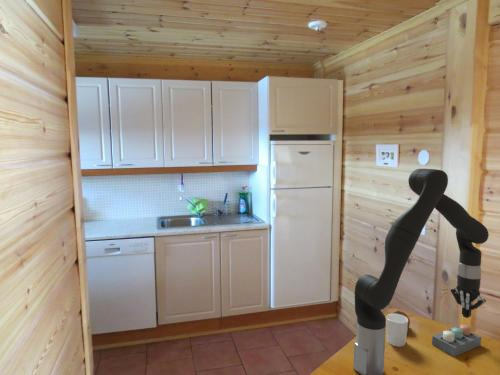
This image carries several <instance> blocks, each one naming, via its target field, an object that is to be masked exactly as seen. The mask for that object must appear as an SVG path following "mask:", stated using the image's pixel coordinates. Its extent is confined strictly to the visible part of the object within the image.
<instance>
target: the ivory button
mask: <svg viewBox="0 0 500 375" xmlns="http://www.w3.org/2000/svg"><path fill="white" fill-rule="evenodd" d="M442 332H443V341H445V342H447V343H449V344H451V343H454V336H455V334H454V333H453V332H451V331H447V330H443V331H442Z"/></svg>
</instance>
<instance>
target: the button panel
mask: <svg viewBox="0 0 500 375" xmlns="http://www.w3.org/2000/svg"><path fill="white" fill-rule="evenodd" d="M455 327H456V328H460V325H457V326H455ZM451 330H452V328H450V329H447V330H446V331H451ZM431 338H432V339H431V345H432V346H434V347H436V348H438V349H440V350H441V351H443V352H445V353H447V354H449V355H451V357H456V356H460V355H461V354H463V353H466V352H468V351H470V350H473V349H475V348H478V347H480V346H481V344H482V336H481V335H478V334H476V333H475V332H472V331H471V336H469V337H465V336H463V338H462V339H461V340H459V341H458V340H457V339H455V338H454V343H451V344H449V343H447V342H445V341H443V331H441V332H439V333H436V334H434V335H432V337H431Z"/></svg>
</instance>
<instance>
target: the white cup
mask: <svg viewBox="0 0 500 375" xmlns="http://www.w3.org/2000/svg"><path fill="white" fill-rule="evenodd" d="M385 318H386V328H385V329H386V341H387V343H388V344H390V345H391V346H393V347H404V346H405V345H406V344H407V343H406V341H407V336H408V335H407V334H408V328H409V327H408V318H409V317H408V318H407V317H405V316H403V315H401V314H396V313H394V312H391V313H389V314H387V315H386V316H385Z"/></svg>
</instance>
